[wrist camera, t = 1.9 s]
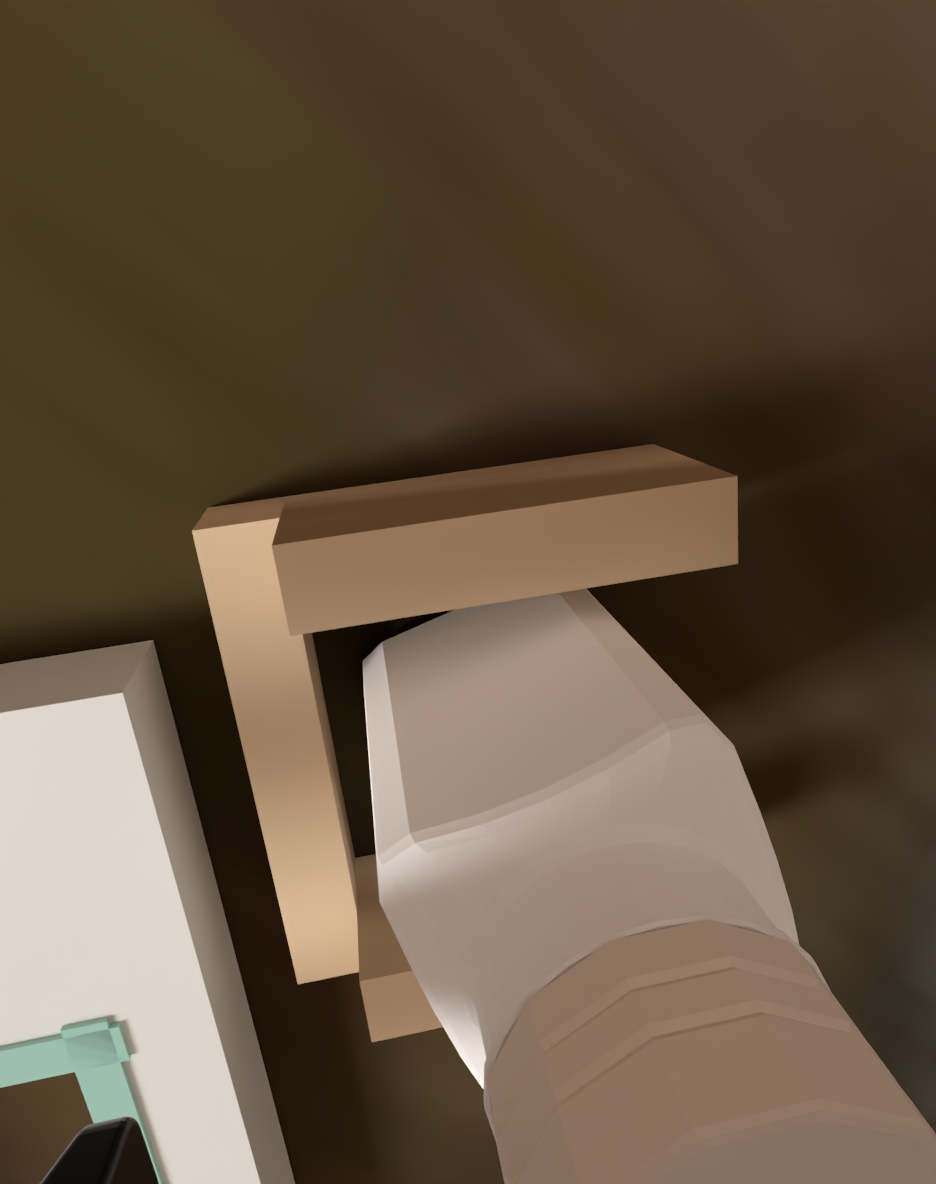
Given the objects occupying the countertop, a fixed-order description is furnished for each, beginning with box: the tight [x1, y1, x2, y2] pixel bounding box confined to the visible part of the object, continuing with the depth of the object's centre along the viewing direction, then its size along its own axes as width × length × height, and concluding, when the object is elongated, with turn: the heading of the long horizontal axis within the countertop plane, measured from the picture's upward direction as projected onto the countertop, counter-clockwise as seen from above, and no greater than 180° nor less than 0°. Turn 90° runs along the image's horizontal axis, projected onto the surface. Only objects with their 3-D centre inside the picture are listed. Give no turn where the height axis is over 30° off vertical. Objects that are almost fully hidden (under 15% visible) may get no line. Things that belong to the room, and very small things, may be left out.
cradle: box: [192, 444, 738, 1042], centre depth 13 cm, size 8×7×3 cm
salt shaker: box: [363, 588, 936, 1184], centre depth 10 cm, size 4×4×10 cm
